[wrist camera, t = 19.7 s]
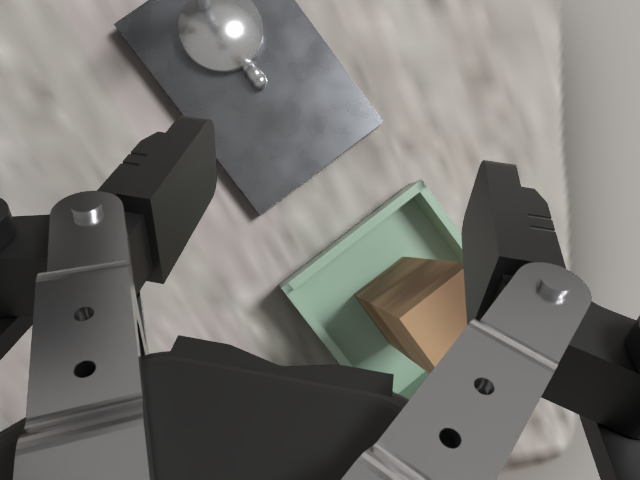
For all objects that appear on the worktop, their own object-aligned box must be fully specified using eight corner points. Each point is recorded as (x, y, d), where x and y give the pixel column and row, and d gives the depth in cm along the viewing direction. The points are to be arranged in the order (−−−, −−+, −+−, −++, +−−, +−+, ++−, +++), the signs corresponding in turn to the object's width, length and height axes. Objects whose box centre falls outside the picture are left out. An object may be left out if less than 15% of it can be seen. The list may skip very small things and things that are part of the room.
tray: (379, 414, 39) (389, 428, 36) (278, 284, 38) (281, 288, 35) (503, 312, 40) (523, 317, 37) (408, 184, 39) (421, 179, 36)
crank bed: (259, 215, 38) (261, 209, 30) (117, 29, 37) (81, -28, 29) (380, 124, 39) (412, 95, 31) (245, -59, 38) (244, -137, 30)
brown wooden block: (390, 344, 38) (452, 390, 26) (353, 294, 38) (399, 318, 26) (438, 306, 39) (521, 334, 27) (402, 256, 38) (470, 263, 27)
